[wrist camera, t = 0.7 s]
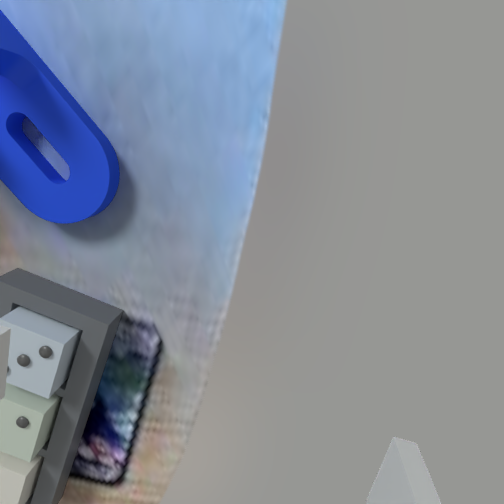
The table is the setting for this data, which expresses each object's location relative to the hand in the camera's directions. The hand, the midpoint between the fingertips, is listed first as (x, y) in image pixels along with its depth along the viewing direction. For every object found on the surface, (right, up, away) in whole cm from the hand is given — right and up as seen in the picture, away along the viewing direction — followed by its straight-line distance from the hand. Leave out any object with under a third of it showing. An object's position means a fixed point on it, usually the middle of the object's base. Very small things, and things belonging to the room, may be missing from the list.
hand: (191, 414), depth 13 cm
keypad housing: (-18, -8, +25) cm, 32 cm away
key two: (-18, -9, +24) cm, 31 cm away
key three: (-16, -2, +22) cm, 27 cm away
